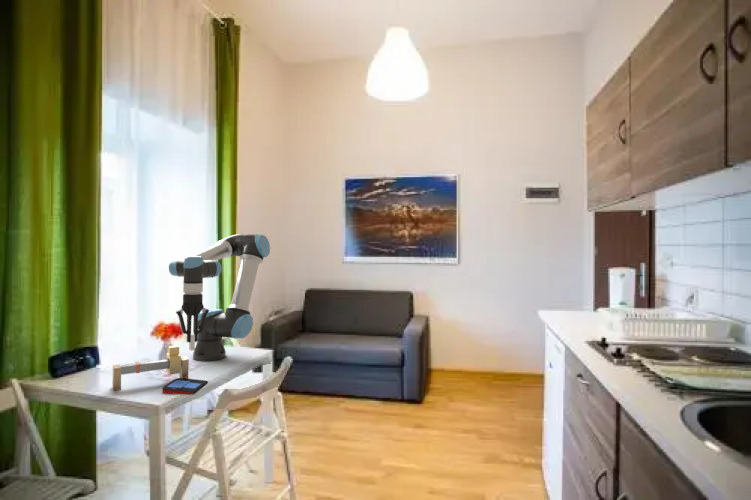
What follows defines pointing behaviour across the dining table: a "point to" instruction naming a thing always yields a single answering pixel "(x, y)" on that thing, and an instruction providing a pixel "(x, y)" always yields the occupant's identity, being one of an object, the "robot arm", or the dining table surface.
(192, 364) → the dining table surface
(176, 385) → the game console
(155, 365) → the grey rail on posts
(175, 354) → the beige wooden block
